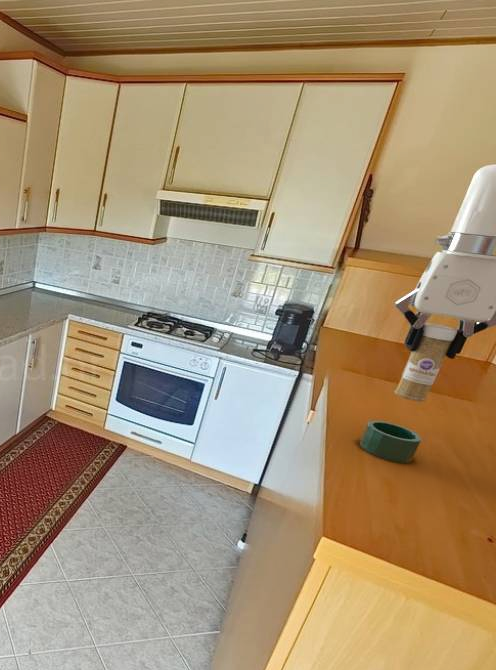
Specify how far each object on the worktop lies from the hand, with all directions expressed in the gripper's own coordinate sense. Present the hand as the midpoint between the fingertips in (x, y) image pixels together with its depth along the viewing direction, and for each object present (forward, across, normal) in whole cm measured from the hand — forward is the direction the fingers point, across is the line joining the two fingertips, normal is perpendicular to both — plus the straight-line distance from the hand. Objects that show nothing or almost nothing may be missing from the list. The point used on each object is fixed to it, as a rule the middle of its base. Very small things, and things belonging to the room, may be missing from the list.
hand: (429, 351), depth 85 cm
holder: (+20, 0, 0) cm, 20 cm away
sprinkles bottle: (+9, 0, 0) cm, 9 cm away
